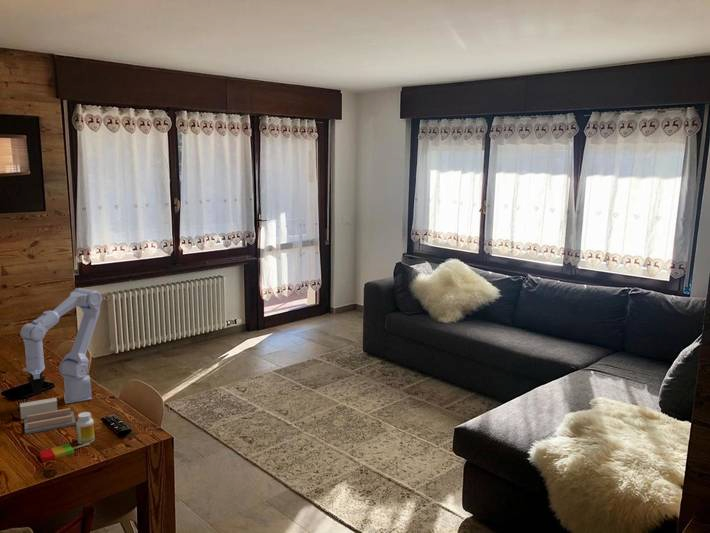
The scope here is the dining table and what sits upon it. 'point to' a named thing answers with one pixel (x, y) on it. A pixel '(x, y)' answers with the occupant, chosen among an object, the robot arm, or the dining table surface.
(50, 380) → the dining table surface
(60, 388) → the dining table surface
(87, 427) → the supplement bottle
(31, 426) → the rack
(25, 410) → the beige rectangular block
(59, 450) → the popsicle
